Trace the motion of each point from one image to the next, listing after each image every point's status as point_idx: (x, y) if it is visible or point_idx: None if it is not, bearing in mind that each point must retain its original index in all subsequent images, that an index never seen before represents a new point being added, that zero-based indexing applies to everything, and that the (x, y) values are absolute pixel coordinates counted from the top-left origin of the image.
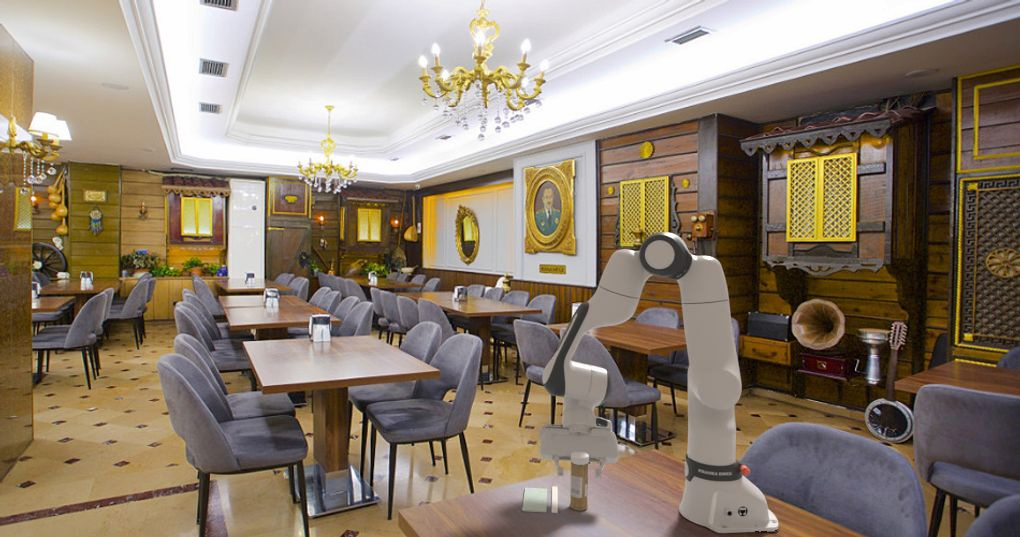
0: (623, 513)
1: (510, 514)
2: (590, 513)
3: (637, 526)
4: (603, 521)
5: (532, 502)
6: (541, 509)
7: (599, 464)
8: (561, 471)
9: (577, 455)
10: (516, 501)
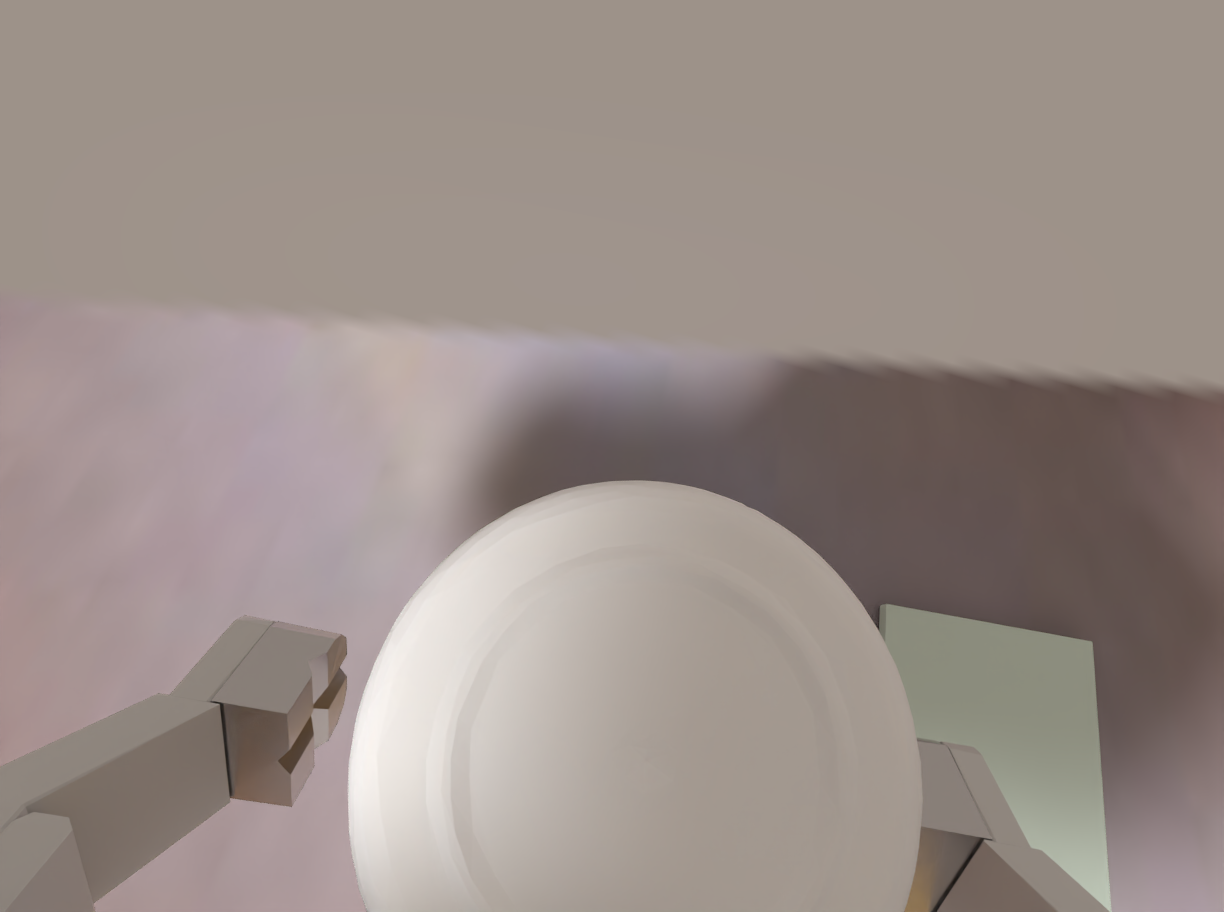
0: (195, 556)
1: (1162, 590)
2: None
3: (189, 337)
4: (433, 430)
5: (1016, 790)
6: (929, 633)
7: (93, 905)
8: (920, 759)
9: (738, 659)
10: (1158, 857)
